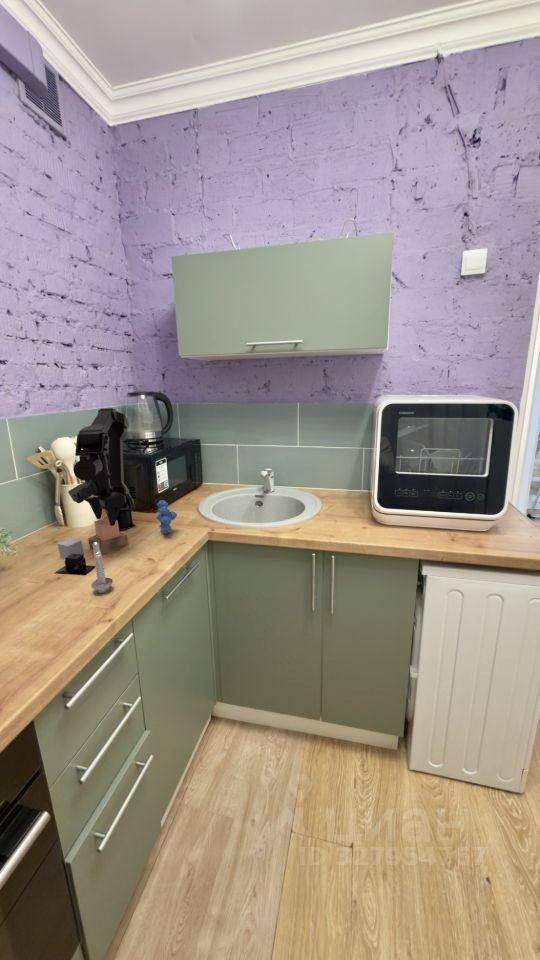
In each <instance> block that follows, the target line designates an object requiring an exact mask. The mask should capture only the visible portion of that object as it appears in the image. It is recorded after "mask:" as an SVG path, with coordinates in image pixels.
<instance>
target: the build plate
mask: <svg viewBox="0 0 540 960" xmlns="http://www.w3.org/2000/svg"><path fill="white" fill-rule="evenodd" d="M84 555H85V554H78V555H77V554H70V555H69V556H67V557H66V558H65V560H64V566H63V567H61V568H60V569H58V570H56V571H55V572H54V573H53V574H54V575H55V574H56V575H71V576H83V577H84V576H87V575H88V574H90V572H92V571H93V570H94V569H96V568H95V567H96V565H90V564H89V565H88V564H87V561H86V557H85V556H84Z"/></svg>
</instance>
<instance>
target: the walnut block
mask: <svg viewBox="0 0 540 960" xmlns="http://www.w3.org/2000/svg"><path fill="white" fill-rule="evenodd" d="M119 534H120V536H118V537H115V538H112V539H109V540H106V541H103V540H101V539H99V538H98V537H97V536H96V535H93V536H91V537H88V538H87V540H88V545H89V550H91V551H93V552H94V549H93V543H94V542H97V543H99V549H100V550H101V555H105V556H107V555H109V554H111V553H114V552H116V551H119V550H121V549H123V548H125V546H126V547H128V546H129V539H128V534H127V533H124V532H121V531H119Z"/></svg>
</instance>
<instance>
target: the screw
mask: <svg viewBox="0 0 540 960" xmlns="http://www.w3.org/2000/svg"><path fill="white" fill-rule="evenodd" d="M93 549H94V551H93V559H94V560H93V562H94V566H96V567H95V568H94V569H95V573H96V579H95V580H94V581H92V582H91V589H94V590H96V592H97V593H98V594H106V593H107V592H108V591H110V586H111V585H113V583H114V581H113V579H112V578H110V577H106V575H105V567H104V561H103V557H102V556H103V554H101V550H100V549H99V543H97V542H94V543H93Z"/></svg>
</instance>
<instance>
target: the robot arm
mask: <svg viewBox="0 0 540 960" xmlns="http://www.w3.org/2000/svg"><path fill="white" fill-rule="evenodd" d="M129 428H130V424H129V419H128V417H127V416H126V415H125V414H124V413H123V412H119V411H117V410H116V408H113V407H107V408H98V410H97V415H96V416H95V418H94V419H93V421H92V422H91V424H90V425H88V426H85V427H83V428H81V429H80V430H79V431H78V433H77V435H76V444H75V453H74V455H75V457H77V456H78V457H79V460H78V461H77V462H76V463H74V466H73V473H74V475H75V477H76V478H78V479H79V480H81V481H84V482H82V483H81V484H78V485H77V486H74V487H72V488H71V489H70V490H68V492H67V493H68V495H69V496H70V498H71V499H72V501H73V502H76V504H80V503H83V502H84V501H85V502H87V504H89V506H90V508H91V510H92V512H93V514H94V516H95V518H96V519H97V520H101V519H102V514H103V510H104V511H105V513H106V516H107V517H106V518H108V520H109V523H110V526H114V525H115V522H116V520H117V521H118V527H119V532H121V531H124V530H127V529H129V527H131V528H134V527H136V524H135V523H134V522H133V515H132V514H133V513H132V512H133V511H134V510H135V509H136V507H135V501H134V499H133V497H132V495H131V493H130V489H129V488H128V487H127V485H126V483H125V479H124V476H125V473H124V470H125V469H124V445H123V442H124V440H125V438H126V437H127V436H128V429H129ZM107 452H108V459H107ZM133 526H134V527H133ZM123 529H124V530H123Z"/></svg>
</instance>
